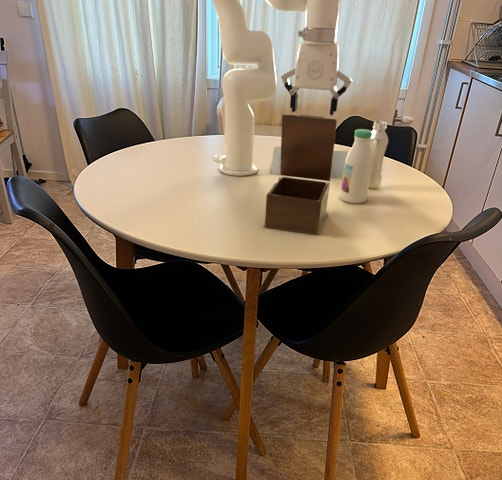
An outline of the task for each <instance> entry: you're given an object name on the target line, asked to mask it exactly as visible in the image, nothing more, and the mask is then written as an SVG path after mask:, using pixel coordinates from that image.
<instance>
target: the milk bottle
mask: <svg viewBox="0 0 502 480" xmlns="http://www.w3.org/2000/svg"><path fill="white" fill-rule="evenodd" d="M372 131H373V130H370V129H366V128H365V129H364V128H358V129H356V130H354V137H353V138H354V142H353V144H352V147H351V148H350V149H349V152H347V153H348V155H347V158H346V162H345V168H344V174H343V178H342V181H341V182H342V183H341V189H340V199H341V200H342V201H343V202H345V203H346V202H347V203H351V204H362V203H365V202H366V201H367V198H368V194H369V189H370V187H369V182H370V176H371V170H372V153H371V150H370V140H371V136H372Z"/></svg>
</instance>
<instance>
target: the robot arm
mask: <svg viewBox="0 0 502 480" xmlns="http://www.w3.org/2000/svg"><path fill="white" fill-rule="evenodd" d="M211 1H212V3H213V6H214V10H215V12H216V16H217V21H218V29H219V36H220V43H221V44H220V45H221V50H222V56H223V59H224V61H225V62H226V63H227V64H229V65H234V66H247V65H248V66H253V67H254V68H234V69H230V70H228V71H227V72H226V73H225V74H224V75H223V76H222V81H221V88H222V94H223V102H224V155H222V156H220V155H216V154H214V155H212V156H213V157H212V160H213V162H214V163H215V164H220V165H219V171H220V172H221V173H223V174H225V175H228V176H229V175H230V176H237V177H241V176H243V177H244V176H252V175H254V174H256V173H257V172H258V167H257V166H256V165H255V164H254V144H255V143H254V142H255V114H254V111H253V109H252V107H251V106H250V104H249V103H251V102H252V103H253V102H264V101H265V102H266V101H269V100H271V99H273V98H274V97H275V95H276V92H277V85H278V83H277V82H278V81H277V72H276V71H277V70H276V63H275V54H274V53H275V52H274V46H273V41H272V40H271V38H270V36H269V35H268V34H267V32H265V31H262V30H250V29H249V28H248V27H249V26H248V22H247V21H248V20H247V15H246V12H245V11H246V10H245V9H244V7H243V5H242V4H241V2H240V1H239V0H211ZM264 1H265V2H266V3H267V4H269V6H271V7H272V8H274V9H276V10H279V11H281V12H282V11H283V12H302V13H305V19H304V20H305V21H304V22H305V23H304V28H303V29H302V30H298V33H297V37H298V38H302V41H303V42H300V43H299V46H298V51H297V56H296V61H295V68H293V69H291V70H289V71H287V72H285V73H283V74H281V76H280V78H281V80H282V83H283V86H284V88H285V89H286V91H287V92H288V93H289V95H290V102H289V109H291V112H292V113H295V112H296V111H297V110H298V100H299V99H298V98H299V94H298V91H299V90H300V89H305V90H319V91H329V92H330V93H331V94H332V97H331V100H330V108H329V116H334V114H335V112H337V111H338V103H339V98H340V97H341V96H342V95H343V94H344V93H345V92H346V91H347V90H348V88H349V86H350V85H351V83H352V82H353V80H352V78H351V77H349V76H347V75H346V74H344V73H343V72H341V71H340V70H339V44H337V43H336V41H337V33H338V24H339V14H340V5H341V0H264ZM292 76H294V77H293V78H294V79H293V84H294V85H292V84H291V83H290V80H289V78H290V77H292ZM338 79H339V80H341V81H342V82H343V85H342V87H341V88H340V89H338V88H337V84H338Z"/></svg>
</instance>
